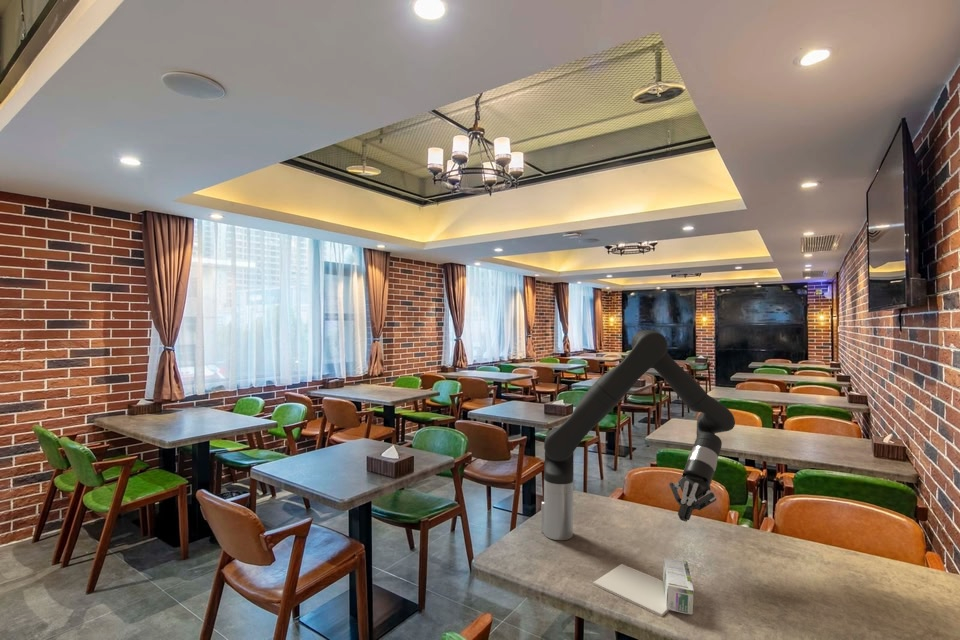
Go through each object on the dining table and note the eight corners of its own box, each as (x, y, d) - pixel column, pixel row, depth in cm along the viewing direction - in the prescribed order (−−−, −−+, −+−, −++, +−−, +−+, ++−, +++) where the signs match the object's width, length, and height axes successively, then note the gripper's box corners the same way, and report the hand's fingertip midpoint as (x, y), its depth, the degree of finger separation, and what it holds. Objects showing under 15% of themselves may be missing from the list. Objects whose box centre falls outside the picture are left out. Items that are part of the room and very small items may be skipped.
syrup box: (686, 583, 118) (694, 616, 104) (661, 578, 120) (666, 610, 106) (687, 560, 118) (695, 590, 104) (662, 556, 120) (667, 585, 106)
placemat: (593, 584, 118) (593, 582, 118) (621, 566, 127) (621, 563, 127) (661, 616, 104) (661, 614, 104) (687, 593, 114) (687, 591, 114)
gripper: (674, 453, 138) (654, 505, 129) (721, 463, 128) (703, 519, 119) (682, 468, 141) (663, 519, 132) (728, 478, 131) (711, 534, 123)
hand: (682, 519), depth 126 cm, fingers closed
